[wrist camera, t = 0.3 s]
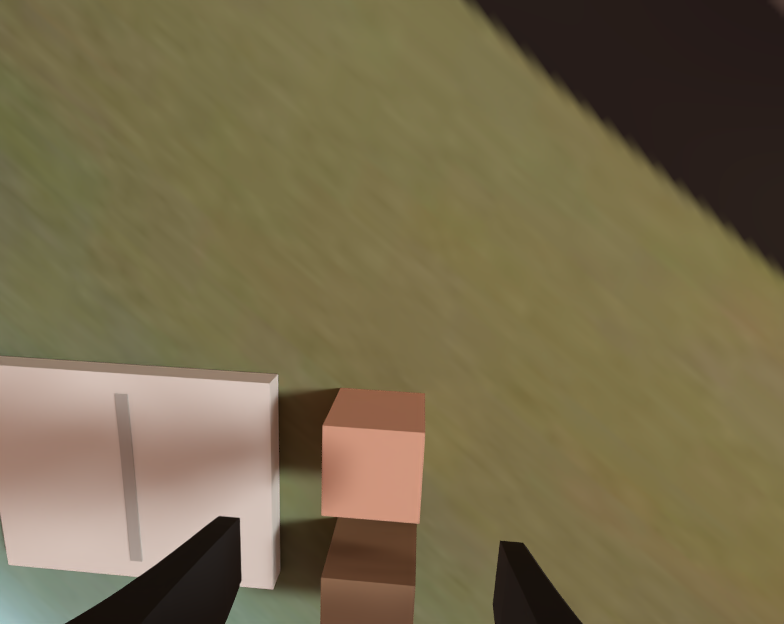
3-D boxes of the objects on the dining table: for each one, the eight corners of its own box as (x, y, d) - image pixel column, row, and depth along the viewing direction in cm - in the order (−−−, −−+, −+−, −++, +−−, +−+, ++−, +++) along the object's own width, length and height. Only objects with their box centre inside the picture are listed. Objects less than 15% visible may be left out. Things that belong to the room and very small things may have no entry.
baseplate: (280, 571, 24) (272, 590, 23) (28, 548, 25) (7, 565, 23) (278, 374, 21) (268, 384, 20) (-2, 355, 22) (-26, 364, 21)
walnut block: (412, 589, 24) (410, 663, 20) (336, 582, 24) (320, 654, 20) (416, 522, 23) (415, 586, 19) (338, 516, 23) (320, 577, 19)
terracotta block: (420, 469, 22) (419, 523, 18) (339, 462, 22) (321, 515, 18) (424, 392, 21) (425, 433, 17) (340, 387, 22) (322, 425, 18)
